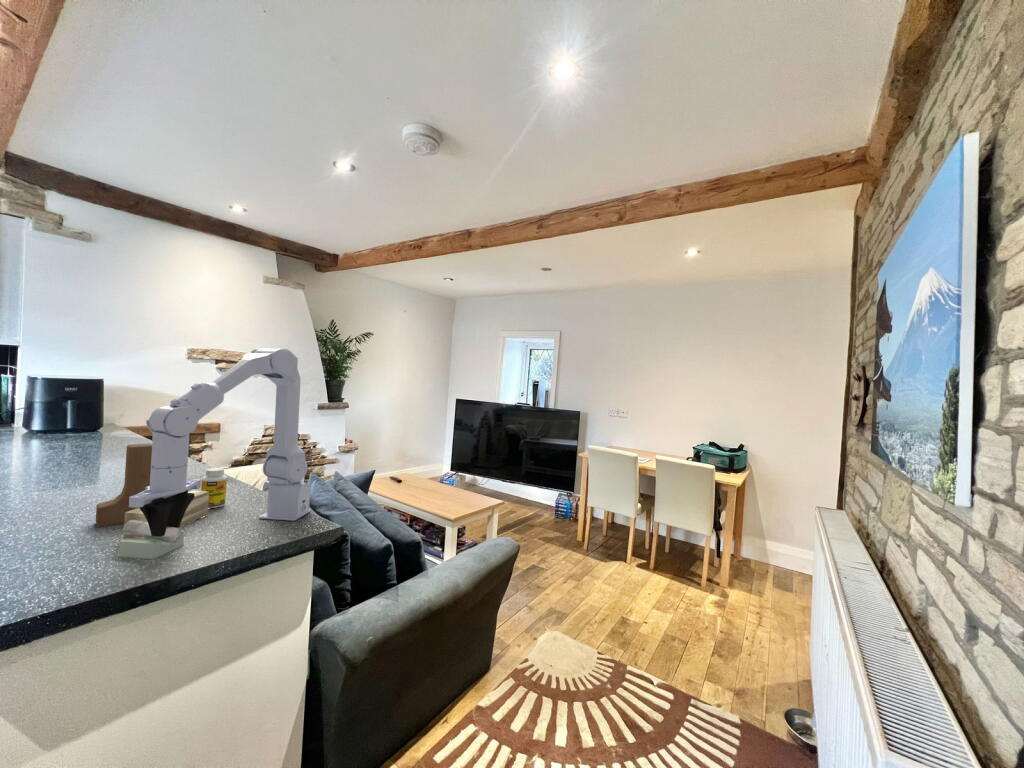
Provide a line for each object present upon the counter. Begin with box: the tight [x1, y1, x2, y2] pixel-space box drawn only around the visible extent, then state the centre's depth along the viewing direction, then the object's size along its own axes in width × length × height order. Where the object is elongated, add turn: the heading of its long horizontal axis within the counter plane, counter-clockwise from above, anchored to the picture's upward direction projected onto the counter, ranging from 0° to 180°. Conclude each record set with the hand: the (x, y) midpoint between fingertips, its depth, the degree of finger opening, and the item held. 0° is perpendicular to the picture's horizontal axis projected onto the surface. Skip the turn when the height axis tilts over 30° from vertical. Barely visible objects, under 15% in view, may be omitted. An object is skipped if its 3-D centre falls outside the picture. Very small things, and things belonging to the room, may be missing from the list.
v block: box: [117, 530, 185, 560], centre depth 82 cm, size 7×7×3 cm
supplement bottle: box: [200, 467, 228, 509], centre depth 110 cm, size 6×6×10 cm
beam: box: [122, 490, 209, 540], centre depth 94 cm, size 4×18×6 cm, turn 179°
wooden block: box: [95, 443, 152, 528], centre depth 97 cm, size 9×4×18 cm, turn 139°
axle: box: [122, 520, 184, 543], centre depth 82 cm, size 10×3×3 cm, turn 89°
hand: (165, 532), depth 82 cm, fingers closed on axle, 3 cm apart
